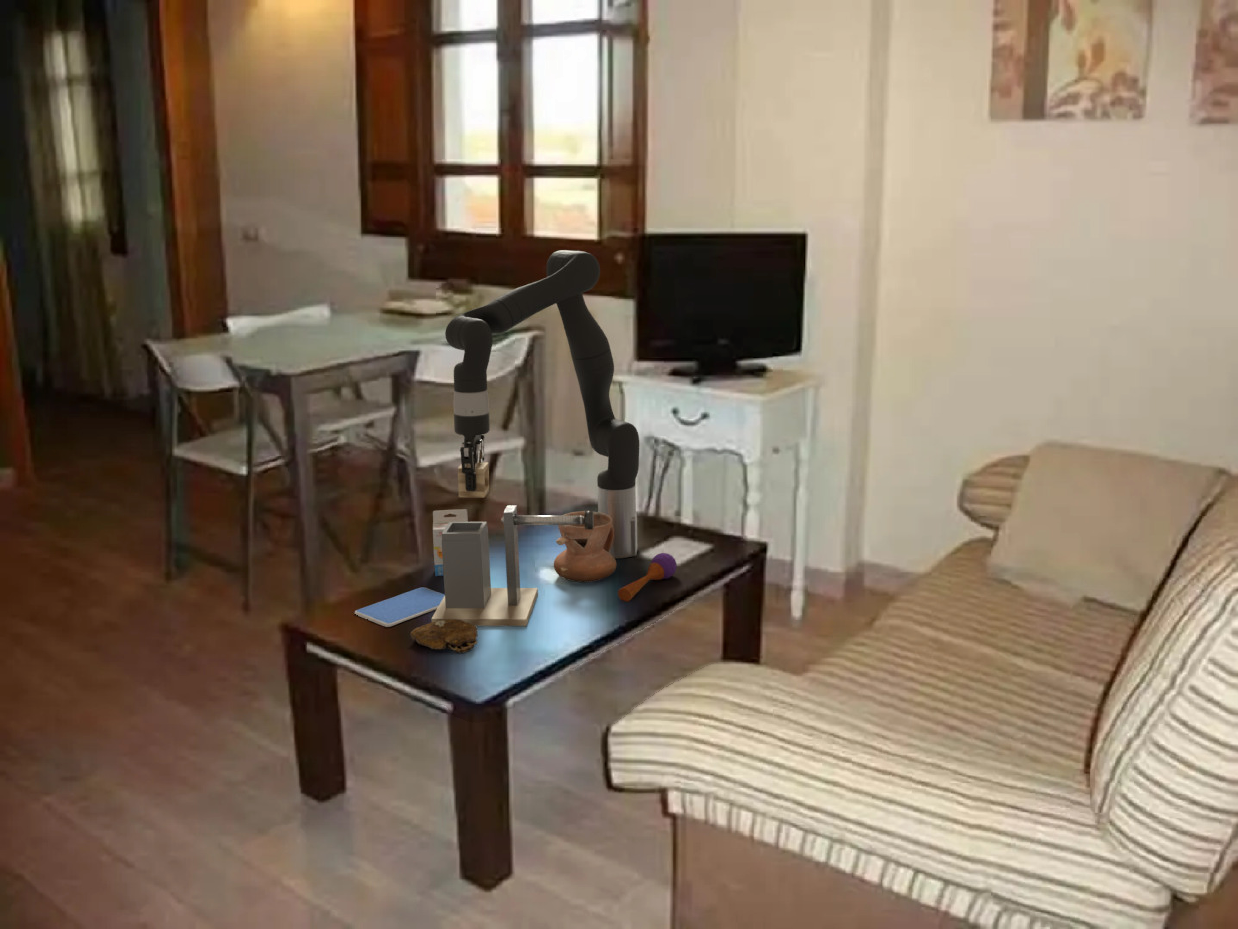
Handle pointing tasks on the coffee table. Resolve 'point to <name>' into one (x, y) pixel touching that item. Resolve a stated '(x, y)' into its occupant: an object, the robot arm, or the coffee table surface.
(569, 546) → the ceramic jug
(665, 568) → the purple maraca
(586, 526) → the steel shaft
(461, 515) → the ink box
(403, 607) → the tablet computer
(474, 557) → the pedestal
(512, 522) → the shaft bracket
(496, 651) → the coffee table surface
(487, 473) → the collar
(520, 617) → the birch board
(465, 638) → the decorative rock
